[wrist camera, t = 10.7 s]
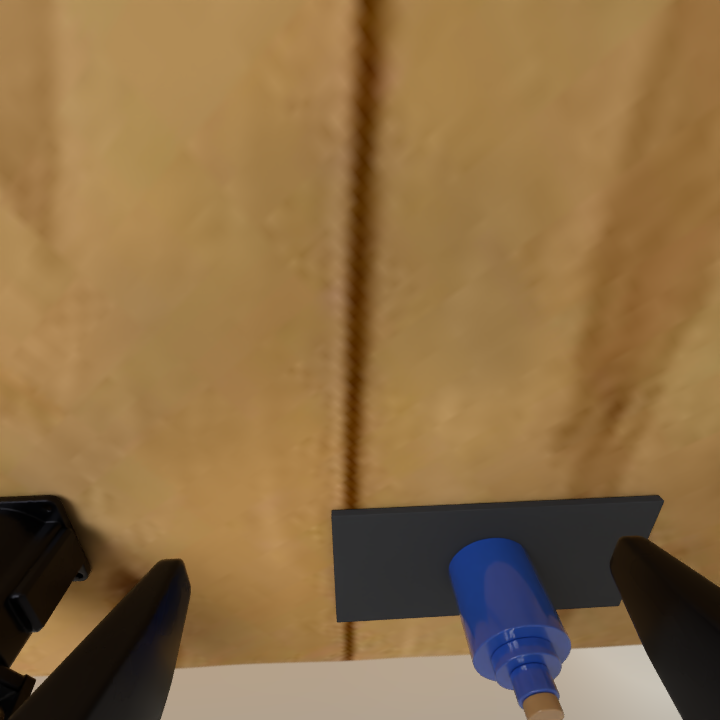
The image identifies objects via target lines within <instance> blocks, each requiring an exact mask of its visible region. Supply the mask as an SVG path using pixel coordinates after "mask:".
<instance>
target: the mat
mask: <svg viewBox="0 0 720 720" xmlns="http://www.w3.org/2000/svg"><path fill="white" fill-rule="evenodd" d="M663 503H664V500H663V499H662V498H661V497H660V496H658V495H656V496H634V497H612V498H590V499H569V500H547V501H525V502H504V503H482V504H460V505H438V506H417V507H395V508H373V509H351V510H332V535H333V555H334V575H335V595H336V615H337V622H353V621H370V620H387V619H404V618H421V617H438V616H455V615H460V614H459V611H458V607H457V603H456V600H455V596H454V593H453V589H452V585H451V582H450V578H449V573H448V569H449V565H450V562H451V560H452V559H453V557H454V556H455V555H456V554H457V553H458V552H459V551H460V550H461V549H462V548H464V547H465V546H467V545H469V544H471V543H473V542H476V541H479V540H482V539H487V538H506V539H510V540H513V541H515V542H517V543H519V544H520V545H522V546H523V547H524V548H525V550H526V551H527V553H528V555H529V557H530V559H531V561H532V563H533V565H534V567H535V569H536V571H537V573H538V575H539V577H540V579H541V582H542V584H543V586H544V588H545V590H546V592H547V594H548V596H549V598H550V600H551V602H552V604H553V606H554V608H555V610H557V609H574V608H591V607H608V606H619V604H620V602H621V600H622V598H621V595H620V593H619V591H618V589H617V586H616V584H615V582H614V580H613V577H612V575H611V572H610V566H609V564H610V559H611V557H612V554H613V552H614V549H615V546H616V544H617V541H618V539H619V538H620V537H622V536H636V535H637V536H642V537H644V538H646V539H648V537H649V535H650V533H651V530H652V528H653V526H654V523H655V521H656V519H657V517H658V514H659V512H660V510H661V507H662V505H663Z"/></svg>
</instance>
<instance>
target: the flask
mask: <svg viewBox="0 0 720 720" xmlns="http://www.w3.org/2000/svg"><path fill="white" fill-rule="evenodd" d="M448 573H449V578H450V582H451V585H452V589H453V593H454V596H455V600H456V603H457V607H458V611H459V614H460V618H461V622H462V625H463V629H464V633H465V636H466V640H467V643H468V647H469V651H470V654H471V658H472V662H473V665H474V668H475V669H476V671H477V672H478V673H479V674H480V675H481V676H483V677H485V678H487V679H489V680H493V681H497V683H498V684H499V685H500V686H502V687H504V688H506V689H509V690H514V692H515V695H516V698H517V701H518V704H519V706H520V707H521V708H522V709H524V712H525V715H526V718H527V720H562V719H563V718H564V712H563V710H562V708H561V705H560V703H559V692H558V690H557V688H556V685H555V683H554V679H555V678H556V677H557V676H558V675H559V673H560V671H561V668H562V665H561V664H562V663H563V662H564V661H565V660H566V658H567V657H568V655H569V653H570V650H571V641H570V638H569V636H568V634H567V632H566V630H565V628H564V626H563V624H562V622H561V620H560V618H559V616H558V614H557V612H556V610H555V608H554V606H553V604H552V602H551V600H550V598H549V596H548V594H547V592H546V590H545V588H544V586H543V584H542V582H541V579H540V577H539V575H538V573H537V571H536V569H535V567H534V565H533V563H532V561H531V559H530V557H529V555H528V553H527V551H526V550H525V548H524V547H523V546H522V545H520V544H519V543H517V542H515V541H513V540H510V539H506V538H487V539H482V540H479V541H476V542H473V543H471V544H469V545H467V546H465V547H464V548H462V549H461V550H460V551H459V552H458V553H457V554H456V555H455V556H454V557H453V559H452V560H451V562H450V565H449V569H448Z"/></svg>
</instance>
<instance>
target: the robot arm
mask: <svg viewBox="0 0 720 720" xmlns="http://www.w3.org/2000/svg"><path fill="white" fill-rule="evenodd" d="M609 566H610V572H611V575H612V577H613V580H614V582H615V584H616V586H617V589H618V591H619V593H620V595H621V598H622V600H623V602H624V604H625V606H626V609H627V611H628V613H629V615H630V618H631V620H632V622H633V624H634V627H635V629H636V631H637V633H638V636H639V638H640V640H641V642H642V644H643V646H644V649H645V651H646V653H647V655H648V657H649V659H650V660H651V662H652V664H653V666H654V668H655V669H656V672H657V673H658V675H659V677H660V679H661V680H662V683H663V684H664V686H665V687H666V690H667V692H668V693H669V695H670V697H671V699H672V701H673V702H674V704H675V706H676V708H677V710H678V712H679V713H680V715H681V717H682V719H683V720H720V587H718V586H717V585H715V584H714V583H712V582H711V581H709V580H708V579H706V578H705V577H703V576H702V575H700V574H699V573H697V572H696V571H694V570H693V569H691V568H690V567H688V566H687V565H685V564H684V563H682V562H681V561H679V560H678V559H676V558H675V557H673V556H672V555H670V554H669V553H667V552H666V551H664V550H663V549H661V548H660V547H658V546H657V545H655V544H654V543H652V542H651V541H649V540H648V539H646V538H644V537H642V536H637V535H636V536H622V537H620V538H619V539H618V541H617V544H616V546H615V549H614V552H613V554H612V557H611V559H610V564H609ZM90 573H91V568H90V566H89V563H88V561H87V559H86V557H85V554H84V552H83V550H82V547H81V545H80V543H79V541H78V538H77V536H76V534H75V532H74V529H73V527H72V525H71V523H70V520H69V518H68V516H67V513H66V511H65V509H64V507H63V504H62V502H61V501H60V499H59V498H57V497H55V496H52V495H41V496H18V497H0V720H160V719H161V716H162V712H163V709H164V706H165V703H166V700H167V696H168V693H169V690H170V686H171V682H172V678H173V674H174V670H175V665H176V660H177V656H178V651H179V646H180V642H181V637H182V632H183V628H184V623H185V618H186V614H187V609H188V604H189V600H190V593H191V586H190V582H189V578H188V575H187V571H186V568H185V564H184V562H183V560H181V559H164V560H161V561H159V562H158V563H157V564H156V565H155V566H154V567H153V568H152V569H151V570H150V571H149V572H148V573H147V574H146V575H145V576H144V577H143V578H142V579H141V580H140V581H139V582H138V583H137V584H136V586H135V587H134V588H133V589H132V590H131V591H130V592H129V593H128V594H127V595H126V596H125V597H124V598H123V599H122V600H121V601H120V602H119V603H118V604H117V605H116V606H115V608H114V609H113V610H112V611H111V612H110V613H109V614H108V615H107V616H106V617H105V618H104V619H103V620H102V621H101V622H100V623H99V624H98V625H97V626H96V627H95V628H94V630H93V631H92V632H91V633H90V634H89V635H88V636H87V637H86V638H85V639H84V640H83V641H82V642H81V643H80V644H79V645H78V646H77V647H76V648H75V649H74V650H73V652H72V653H71V654H70V655H69V656H68V657H67V658H66V659H65V660H64V661H63V662H62V663H61V664H60V665H59V666H58V667H57V668H56V669H55V670H54V671H53V672H52V674H51V675H50V676H49V677H48V678H47V679H46V680H45V681H44V682H43V683H42V684H41V685H40V686H39V687H38V688H37V689H36V690H35V692H33V693H32V695H31V692H32V690H33V687H34V685H35V682H36V679H35V678H33V677H31V676H29V675H27V674H26V675H21V674H19V673H17V672H15V671H14V670H12V669H10V666H11V665H12V663H13V662H14V660H15V659H16V657H17V656H18V654H19V653H20V651H21V649H22V648H23V646H24V645H25V643H26V642H27V640H28V639H29V637H30V636H31V634H32V632H38V631H40V630H41V629H42V628H43V627H44V626H45V624H46V622H47V621H48V619H49V618H50V616H51V614H52V613H53V611H54V610H55V608H56V606H57V605H58V603H59V602H60V600H61V599H62V597H63V595H64V594H65V592H66V591H67V589H68V587H69V586H70V584H71V583H72V581H84V580H86V579H87V578H88V576H89V574H90ZM30 695H31V696H30Z"/></svg>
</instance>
